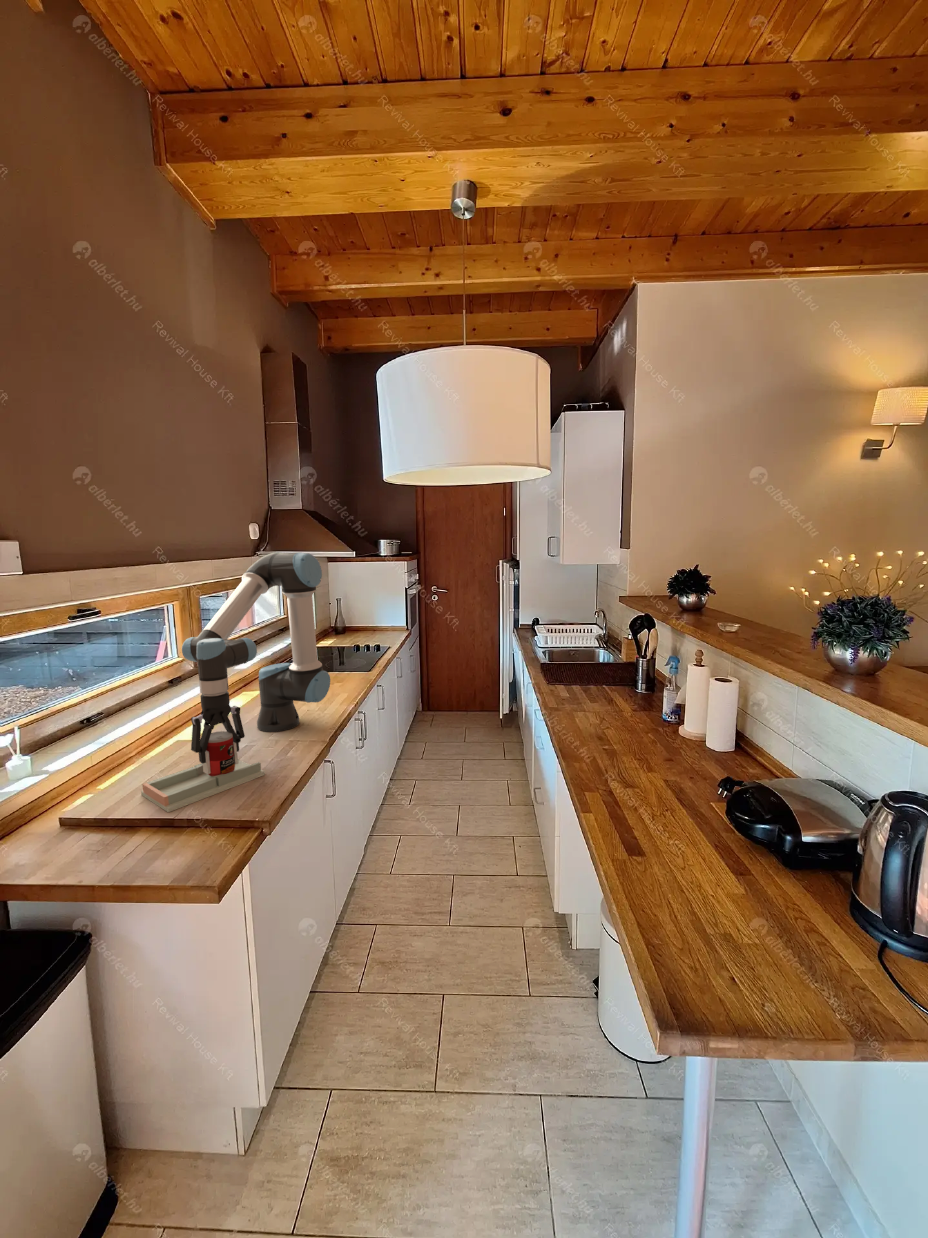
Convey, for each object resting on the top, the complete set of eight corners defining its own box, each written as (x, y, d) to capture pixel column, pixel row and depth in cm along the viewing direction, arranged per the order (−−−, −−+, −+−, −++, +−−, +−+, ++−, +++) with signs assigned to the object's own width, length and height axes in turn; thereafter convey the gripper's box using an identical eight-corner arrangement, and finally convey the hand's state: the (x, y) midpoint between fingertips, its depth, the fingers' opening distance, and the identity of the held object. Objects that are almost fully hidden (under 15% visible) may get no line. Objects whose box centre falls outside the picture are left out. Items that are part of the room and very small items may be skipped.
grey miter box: (236, 761, 174) (235, 750, 174) (264, 774, 165) (263, 763, 164) (141, 795, 153) (140, 782, 152) (168, 812, 143) (166, 799, 142)
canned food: (225, 778, 158) (222, 741, 156) (200, 776, 159) (197, 739, 157) (240, 767, 165) (238, 731, 163) (217, 765, 167) (214, 730, 165)
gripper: (240, 682, 169) (246, 753, 172) (171, 698, 153) (179, 776, 156) (254, 686, 164) (259, 759, 168) (184, 703, 148) (192, 783, 152)
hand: (220, 767), depth 162 cm, fingers closed on canned food, 8 cm apart
